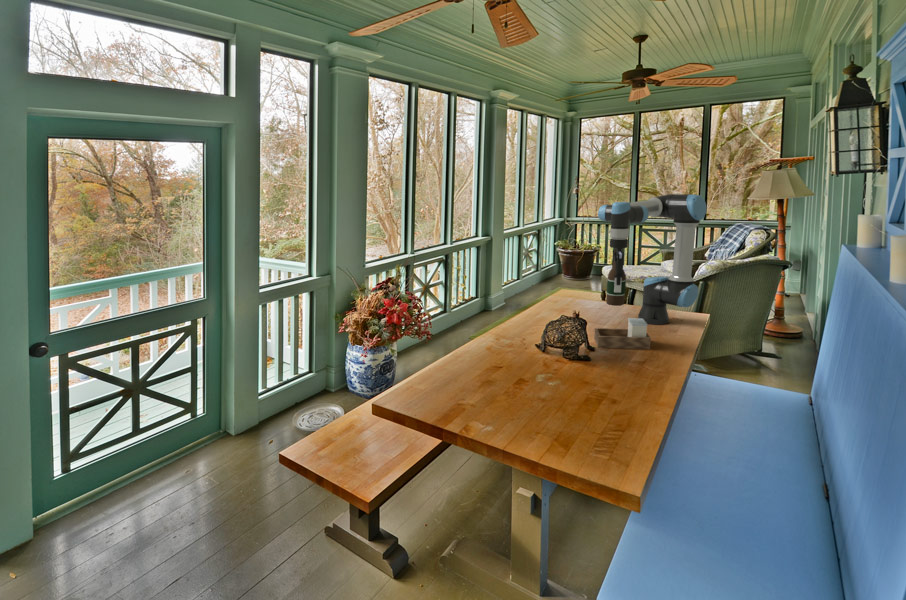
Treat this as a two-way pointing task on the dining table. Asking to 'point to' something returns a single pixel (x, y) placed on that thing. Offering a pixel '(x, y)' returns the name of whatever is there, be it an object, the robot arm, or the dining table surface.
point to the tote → (619, 339)
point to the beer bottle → (612, 296)
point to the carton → (637, 327)
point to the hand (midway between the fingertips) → (616, 290)
